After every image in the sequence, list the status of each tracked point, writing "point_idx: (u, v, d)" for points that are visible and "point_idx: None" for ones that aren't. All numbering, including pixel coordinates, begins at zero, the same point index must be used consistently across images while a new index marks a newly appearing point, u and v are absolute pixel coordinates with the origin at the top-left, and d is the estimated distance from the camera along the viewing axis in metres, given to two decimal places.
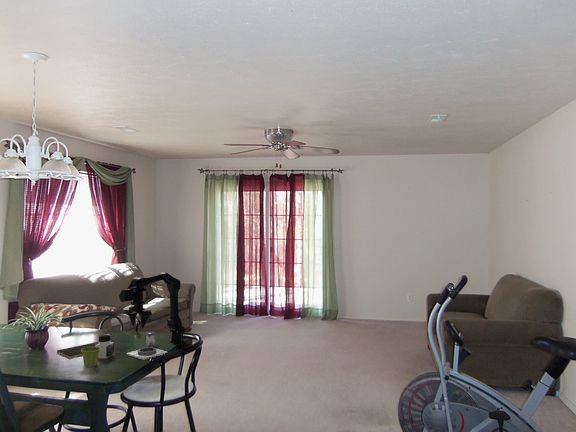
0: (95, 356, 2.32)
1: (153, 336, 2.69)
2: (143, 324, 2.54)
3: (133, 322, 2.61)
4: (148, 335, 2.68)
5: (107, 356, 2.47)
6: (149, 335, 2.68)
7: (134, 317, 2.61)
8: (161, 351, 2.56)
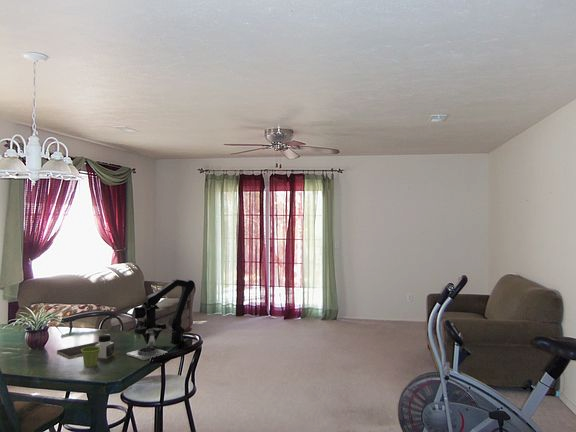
0: (95, 356, 2.32)
1: (153, 336, 2.69)
2: (145, 340, 2.68)
3: None
4: None
5: (107, 356, 2.47)
6: (149, 335, 2.68)
7: (155, 334, 2.72)
8: (161, 351, 2.56)
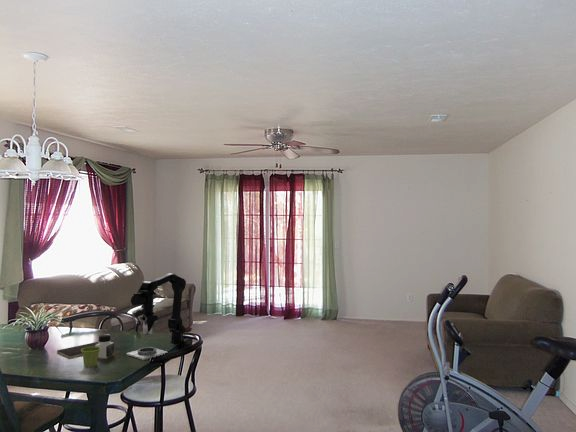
0: (95, 356, 2.32)
1: None
2: (149, 327, 2.56)
3: None
4: None
5: (107, 356, 2.47)
6: None
7: None
8: (161, 351, 2.56)
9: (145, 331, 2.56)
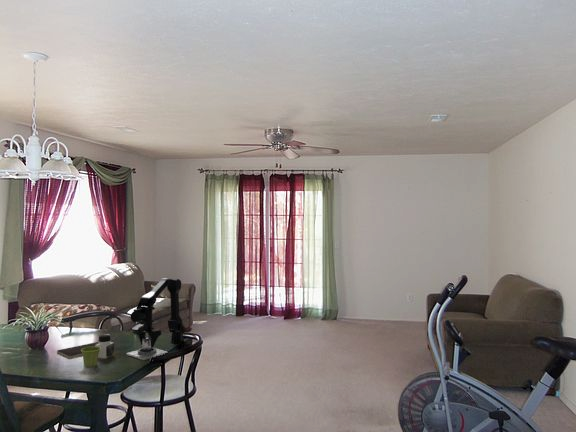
0: (95, 356, 2.32)
1: None
2: (152, 344, 2.51)
3: None
4: None
5: (107, 356, 2.47)
6: None
7: (143, 336, 2.58)
8: (161, 351, 2.56)
9: (146, 349, 2.52)
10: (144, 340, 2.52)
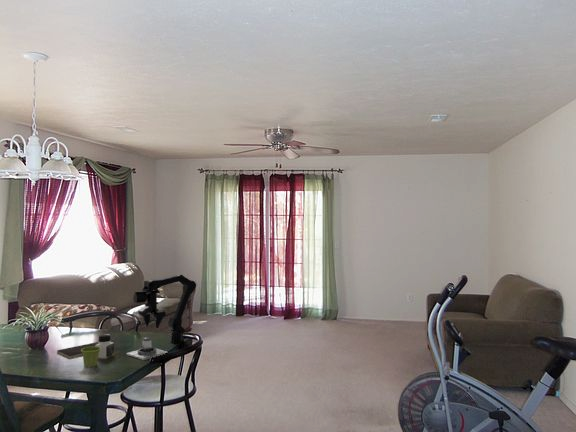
0: (95, 356, 2.32)
1: None
2: (158, 324, 2.67)
3: (147, 323, 2.72)
4: (150, 339, 2.54)
5: (107, 356, 2.47)
6: (151, 339, 2.54)
7: (148, 318, 2.73)
8: (161, 351, 2.56)
9: (146, 349, 2.52)
10: (144, 340, 2.52)
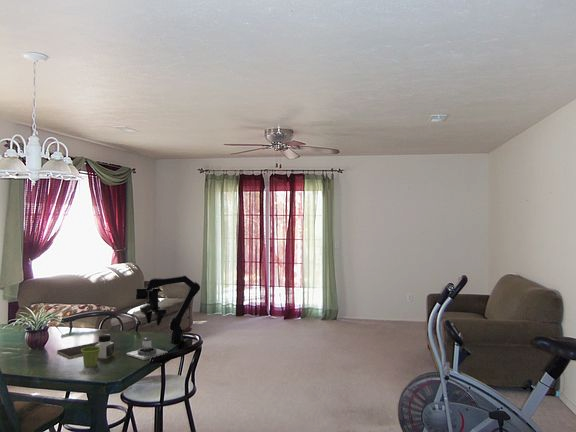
0: (95, 356, 2.32)
1: None
2: (158, 322, 2.72)
3: (149, 320, 2.78)
4: (150, 339, 2.54)
5: (107, 356, 2.47)
6: (151, 339, 2.54)
7: (150, 315, 2.79)
8: (161, 351, 2.56)
9: (146, 349, 2.52)
10: (144, 340, 2.52)
